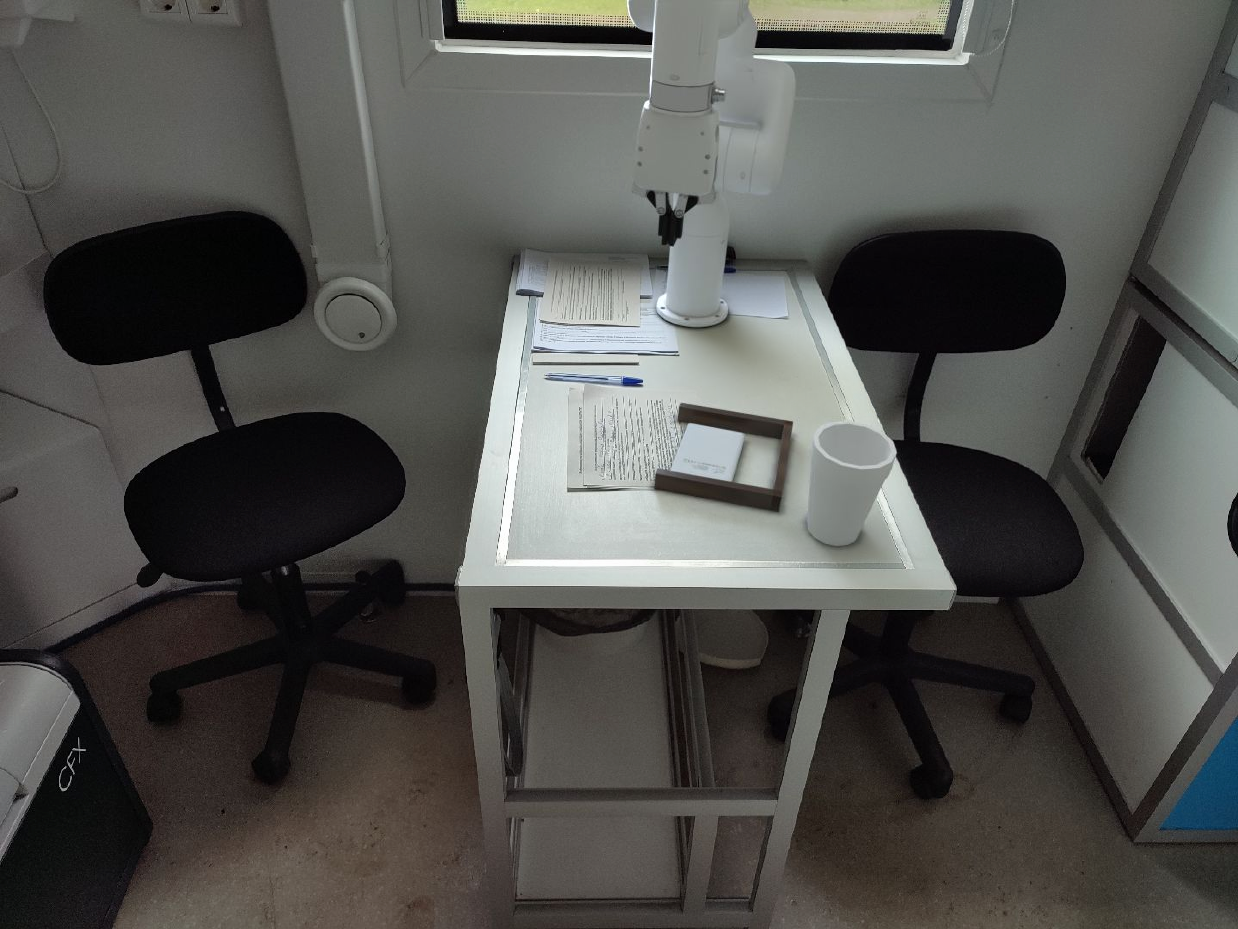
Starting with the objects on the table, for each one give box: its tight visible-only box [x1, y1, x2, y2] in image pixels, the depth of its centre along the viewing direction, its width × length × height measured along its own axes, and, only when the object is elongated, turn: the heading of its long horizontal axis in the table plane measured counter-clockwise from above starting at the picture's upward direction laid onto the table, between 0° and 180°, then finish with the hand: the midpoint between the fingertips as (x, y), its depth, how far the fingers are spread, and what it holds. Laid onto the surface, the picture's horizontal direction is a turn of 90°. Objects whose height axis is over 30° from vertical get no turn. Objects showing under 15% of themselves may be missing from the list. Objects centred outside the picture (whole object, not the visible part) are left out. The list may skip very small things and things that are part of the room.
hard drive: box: [669, 423, 746, 482], centre depth 116 cm, size 2×8×12 cm
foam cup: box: [806, 420, 898, 547], centre depth 102 cm, size 10×9×13 cm
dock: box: [653, 402, 794, 512], centre depth 116 cm, size 17×16×2 cm
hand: (669, 241), depth 113 cm, fingers closed
